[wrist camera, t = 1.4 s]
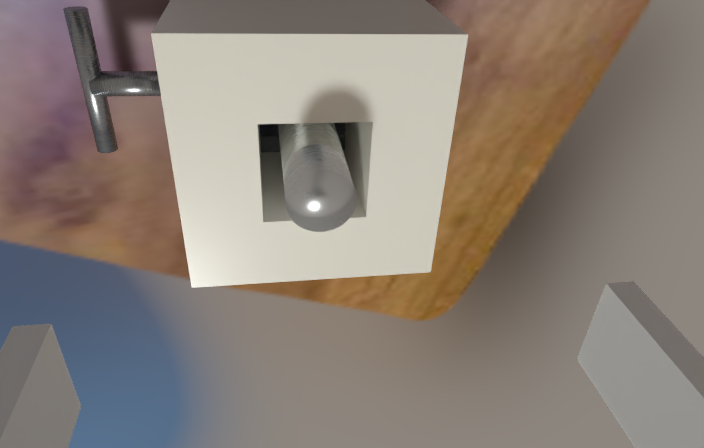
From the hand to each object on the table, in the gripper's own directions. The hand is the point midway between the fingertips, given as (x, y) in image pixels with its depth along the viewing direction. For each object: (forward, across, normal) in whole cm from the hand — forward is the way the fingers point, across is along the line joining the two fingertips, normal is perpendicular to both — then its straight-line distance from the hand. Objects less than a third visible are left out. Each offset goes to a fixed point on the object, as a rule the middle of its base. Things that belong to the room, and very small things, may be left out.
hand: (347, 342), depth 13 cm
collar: (+14, 0, 0) cm, 14 cm away
